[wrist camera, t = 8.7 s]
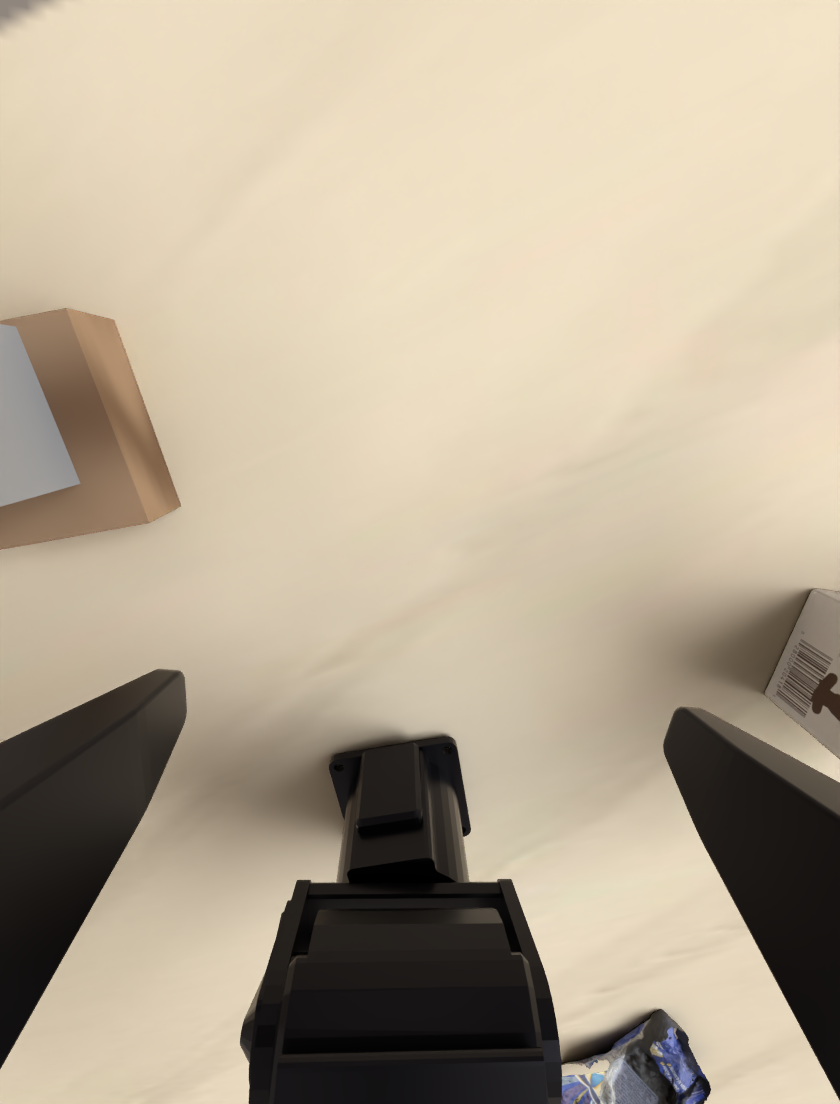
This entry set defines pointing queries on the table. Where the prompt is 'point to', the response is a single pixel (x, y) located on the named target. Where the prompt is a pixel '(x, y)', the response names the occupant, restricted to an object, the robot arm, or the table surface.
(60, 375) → the walnut slab
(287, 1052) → the robot arm
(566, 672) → the table surface
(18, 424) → the grey block
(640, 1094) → the snack package
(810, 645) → the coffee box
